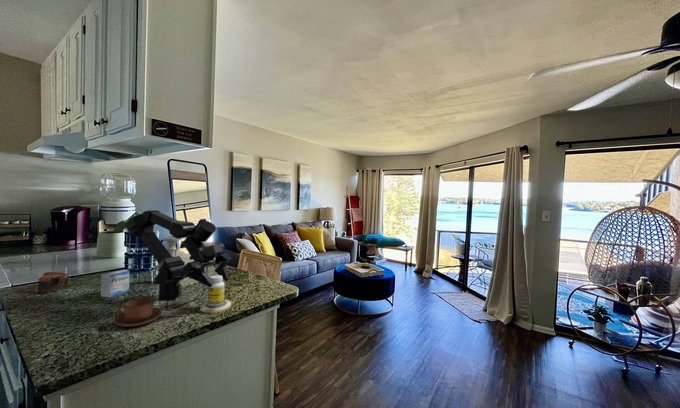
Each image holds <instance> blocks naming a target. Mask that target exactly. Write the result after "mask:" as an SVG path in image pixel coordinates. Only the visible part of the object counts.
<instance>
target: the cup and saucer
mask: <svg viewBox="0 0 680 408" xmlns="http://www.w3.org/2000/svg"><path fill="white" fill-rule="evenodd" d="M122 308H124V311H122V310H121V309H122ZM117 310H118V312H119V313H118V314H119V315H118V316H116V317H115V318H114V320H113V321H114V324H116V325H117V326H119V327H130V328H131V327H138V326H143V325H146V324H149V323H151V322H154V321H156V320H157V319H158V318H160V317H161V315H162V312H163V311H162V310H161V309H160V308H156V307H154V299H153V298H150V297H141V298H135V299H132V300H131V299H130V300H129V301H127V302H125V303H124V304H121V305H119V306H118V309H117Z"/></svg>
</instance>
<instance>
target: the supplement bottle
mask: <svg viewBox="0 0 680 408" xmlns="http://www.w3.org/2000/svg"><path fill="white" fill-rule="evenodd" d="M209 280H210V281H211V283H212V287H208V286H207V301H208V305H210V306H218V305H221V304H223V303H224V299H225V282H224V281H223V280H224V279H223V276H221V275H218V274H217V275H212V276H210V277H209Z"/></svg>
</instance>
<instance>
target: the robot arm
mask: <svg viewBox="0 0 680 408" xmlns="http://www.w3.org/2000/svg"><path fill="white" fill-rule="evenodd" d="M155 225H157V226H159V227H161V228H163V229H165V230H167V231H168V232H169V234H170V235H171V237H175V238H177V239H179V238H182V239H184V240H180V244H179V249H186V251H187V252H188V254H189V260H190V261H189V262H187V263H186V262H185V261H184V260H183V259H182V257H181V256H180V255H175V256H176V257H173V256H171V254H170V253H169V252H168V250H167V248H166V247H165V245H164V244H163V243H162V241H161V240H160V238H159V237H158V236H157V235H156V233H155V231H154V229H155V228H154V227H155ZM125 228H126V230H127V231H128V233H130V234H131V235H132V236H134V237H136V238H139V239H140V240H141V241H142V243H143V244H144V245H145V247H146V248H147V250H148V251H149V252H150V253H151V255H152V256H153V257H154V259H155V261H156V262H157V263H158V270H157V271H158V274H157V275H156V276H155V277H154V284H155V285H159V287H158V288H159V290H158V297H157V298H156V300H157V301H173V300H177V299H178V298H179V297H180V296H181V295H182V284H181V281H183V280H184V279H187V278H188V279H189V280H191V279H192V280H193V281H196V282H198V283H200V284H202V285H204V286H206V287H207V288H208V287H212V283H211V281H210V277H208V275H207V272H206V269H207V268H210V267H214V272H215V273H216V274H217V275H221V276H223V279H222V280H223V281H225V282H228V281H229V279H230V278H229V275H228V270H227V264H228V263H229V261H231V259H232V256H231V255H230V254H229V253H224V254H222V253H223V252H224V250H226V249H225V248H226V247H225V245H224V243H223V241H222V242H220V241H219V242H217V243H215V244H212V245H207V246H206V245H205V244H204V243H205V242H207V241H208V240H210V239H209V238H211V236H212V235H214V233H215V232H216V230H217V227H216V225H215V224H214V223H212V222H211V221H208V220H207V219H206V218H201V219H199V221H198V222H197V223H196V224H195V223H194V222H192V221H187V220H186V221H185V220H179V219H176V218H173V217H171V216H169V215H166V214H165V213H162V212H160V211H159V210H155V209H154V210H151V209H150V210H149V209H147V210H145V211H143V212H142V213H140V214H138V215H135V216H133V217H130V218H129V219H128V220H127V221H126V223H125ZM220 253H221V254H220ZM218 254H220V255H219V256H218V257H217V255H218ZM216 257H217V258H216ZM180 280H181V281H180Z"/></svg>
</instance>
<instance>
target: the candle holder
mask: <svg viewBox="0 0 680 408" xmlns="http://www.w3.org/2000/svg"><path fill="white" fill-rule="evenodd" d="M182 239H183V238H179V239H177V238H175V237H174V236H164V237H163V238H162V241H164V242H166V244H167V246H168V247H167V248H166V249H167V250H168V252H169V253H170V254H171V256H173V257H176V256H177V255H176V250H177V249H178V248H177V247H176V244H177V243H178V241H182ZM181 281H182V280H180V282H181Z"/></svg>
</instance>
